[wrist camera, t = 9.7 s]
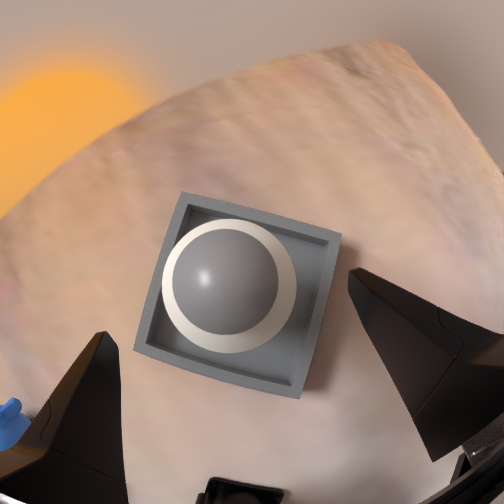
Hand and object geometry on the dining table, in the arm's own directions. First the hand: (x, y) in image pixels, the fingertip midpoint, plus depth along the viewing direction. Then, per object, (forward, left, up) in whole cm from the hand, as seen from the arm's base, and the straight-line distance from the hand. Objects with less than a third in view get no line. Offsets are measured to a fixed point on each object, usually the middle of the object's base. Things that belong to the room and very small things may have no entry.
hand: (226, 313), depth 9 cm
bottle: (0, -1, -11) cm, 11 cm away
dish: (0, -1, -11) cm, 11 cm away
